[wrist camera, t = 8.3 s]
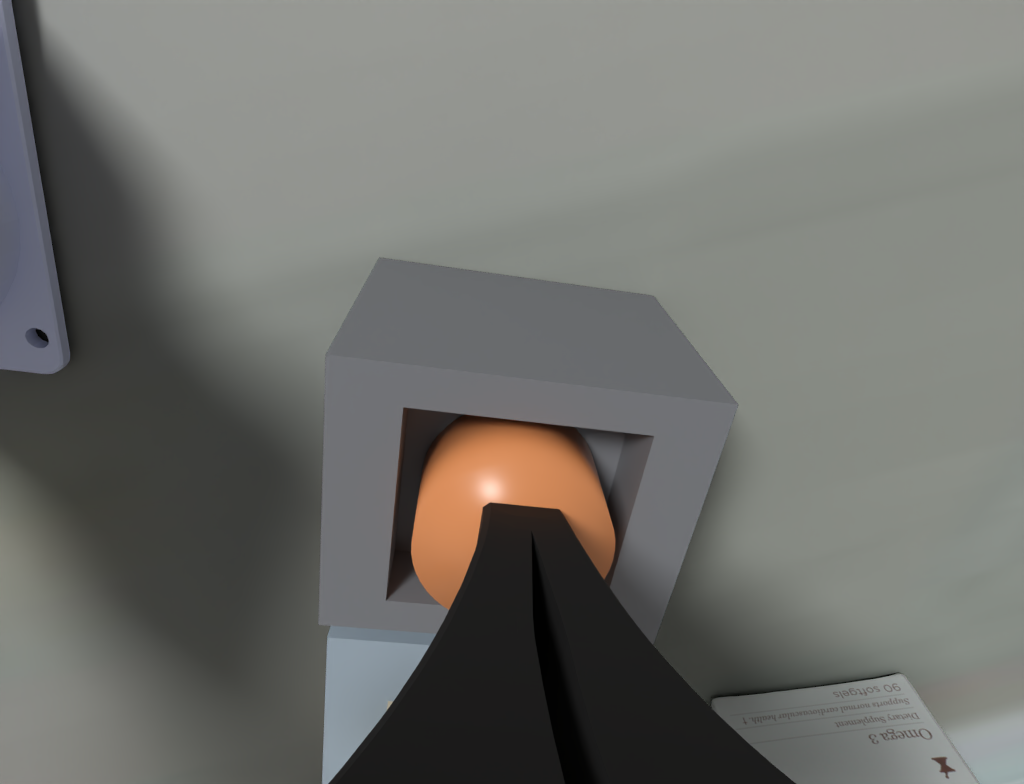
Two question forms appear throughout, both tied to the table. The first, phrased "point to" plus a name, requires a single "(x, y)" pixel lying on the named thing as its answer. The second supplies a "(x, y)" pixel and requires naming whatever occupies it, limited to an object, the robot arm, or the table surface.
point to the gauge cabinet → (516, 396)
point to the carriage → (363, 685)
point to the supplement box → (848, 734)
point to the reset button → (502, 493)
